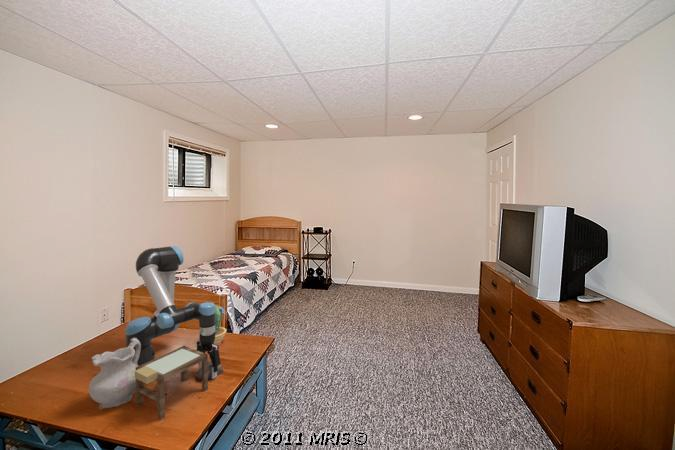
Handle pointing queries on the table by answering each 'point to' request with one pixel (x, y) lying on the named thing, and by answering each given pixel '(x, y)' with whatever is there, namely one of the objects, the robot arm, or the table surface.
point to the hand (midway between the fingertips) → (208, 375)
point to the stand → (160, 380)
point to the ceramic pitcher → (115, 376)
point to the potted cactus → (218, 330)
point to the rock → (210, 370)
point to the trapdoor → (164, 365)
